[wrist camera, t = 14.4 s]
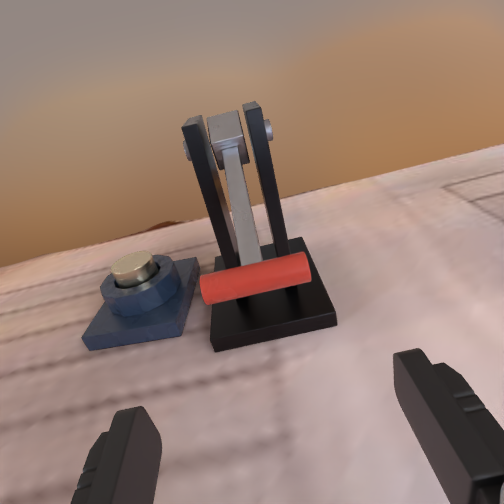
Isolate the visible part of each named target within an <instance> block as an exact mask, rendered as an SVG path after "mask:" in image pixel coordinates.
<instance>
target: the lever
mask: <svg viewBox="0 0 504 504" xmlns="http://www.w3.org/2000/svg"><path fill="white" fill-rule="evenodd" d="M207 124H208V131H209V138H210V144H211V147H212V150H213V153H214V156H215V159H216V161H217V165H218V168H219V170H223V169H225V175H226V180H227V186H228V192H229V198H230V203H231V209H232V215H233V221H234V227H235V232H236V238H237V244H238V250H239V255H240V261H241V266H239V267H234V268H230V269H226V270H222V271H217V272H213V273H209V274H204V275H201V276H200V289H201V294H202V297H203V300H204V302H205V304H206V305H211V304H215V303H220V302H224V301H228V300H233V299H237V298H241V297H246V296H250V295H255V294H259V293H263V292H268V291H272V290H276V289H281V288H285V287H290V286H294V285H298V284H303V283H307V282H311V272H310V268H309V264H308V260H307V257H306V254H305V252H299V253H294V254H290V255H286V256H282V257H277V258H273V259H269V260H264V261H263V259H262V254H261V250H260V245H259V240H258V236H257V231H256V227H255V222H254V217H253V213H252V208H251V204H250V199H249V194H248V190H247V186H246V181H245V177H244V171H243V167H242V165H243V164H247V163H250V160H249V156H248V152H247V147H246V143H245V139H244V134H243V130H242V126H241V122H240V117H239V113H238V111H237V110H235V111H231V112H227V113H223V114H220V115H215V116H212V117H208V118H207Z"/></svg>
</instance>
